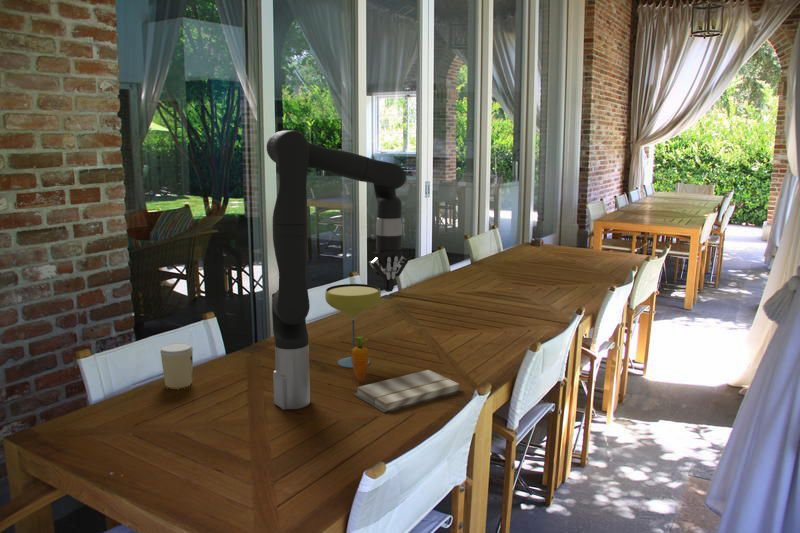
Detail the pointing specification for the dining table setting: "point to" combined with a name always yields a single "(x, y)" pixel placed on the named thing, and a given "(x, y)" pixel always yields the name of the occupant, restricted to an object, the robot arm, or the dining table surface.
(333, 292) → the cocktail glass
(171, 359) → the coffee cup
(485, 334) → the dining table surface
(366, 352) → the carrot
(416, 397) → the floor base
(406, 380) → the board
